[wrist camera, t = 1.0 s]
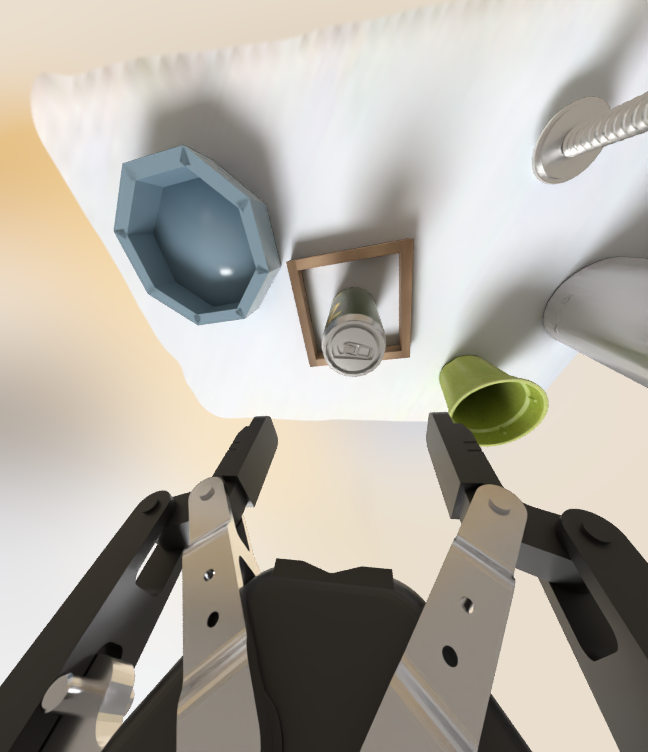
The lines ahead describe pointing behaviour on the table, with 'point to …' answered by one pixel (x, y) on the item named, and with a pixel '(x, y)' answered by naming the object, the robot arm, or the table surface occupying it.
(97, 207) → the table surface
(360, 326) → the beer can
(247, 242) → the slate bowl
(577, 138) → the screw
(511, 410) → the plant pot
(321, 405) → the table surface
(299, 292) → the walnut frame
